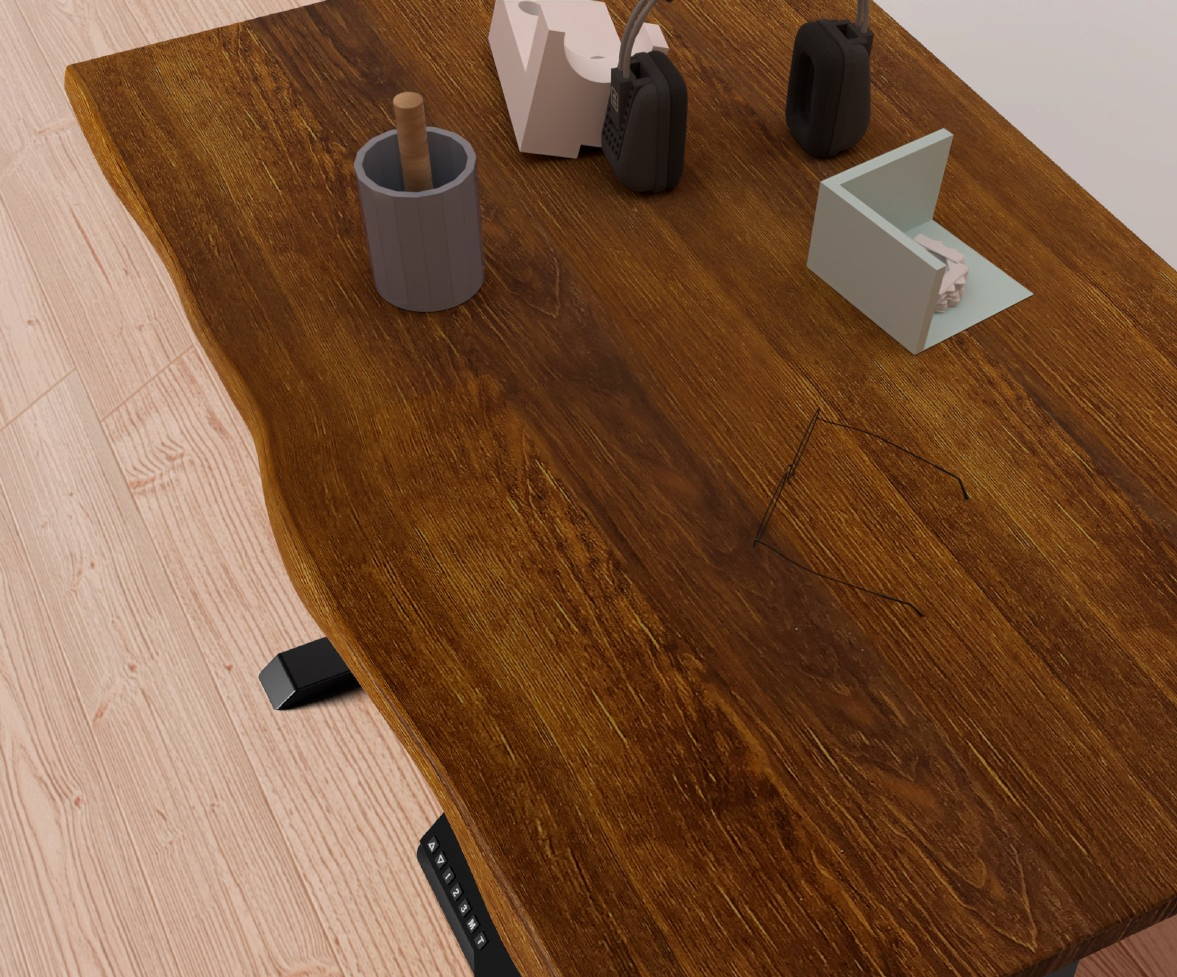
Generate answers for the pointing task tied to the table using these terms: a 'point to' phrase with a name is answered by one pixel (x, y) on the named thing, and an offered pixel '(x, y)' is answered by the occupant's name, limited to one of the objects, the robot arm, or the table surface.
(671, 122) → the headphones
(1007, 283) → the l-shaped corner panel
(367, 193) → the grey cup
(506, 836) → the table surface
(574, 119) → the white notched block
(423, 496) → the table surface
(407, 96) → the cylinder with wooden handle
